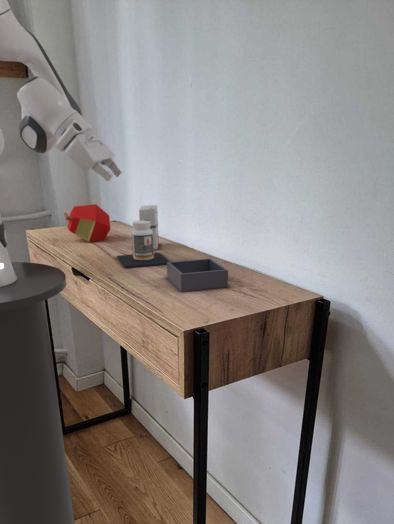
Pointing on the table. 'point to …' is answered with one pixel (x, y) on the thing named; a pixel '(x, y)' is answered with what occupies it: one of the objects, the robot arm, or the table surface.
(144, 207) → the ink box
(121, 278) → the table surface
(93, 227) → the apple
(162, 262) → the mat
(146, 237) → the pill bottle
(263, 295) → the table surface
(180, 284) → the open box
